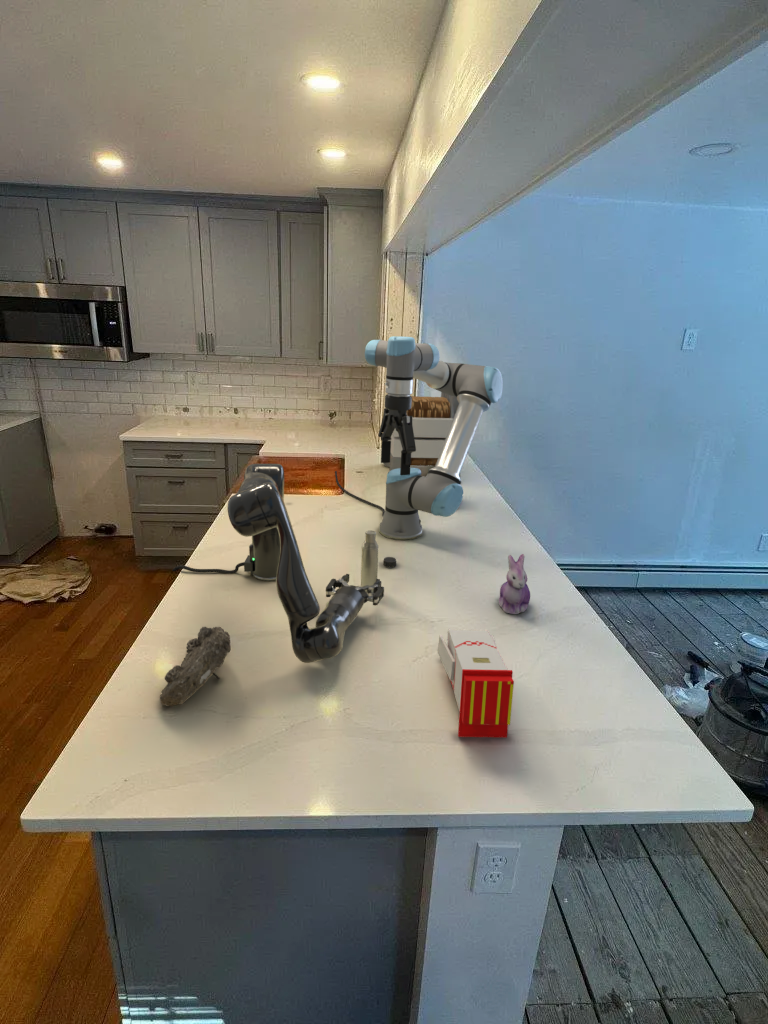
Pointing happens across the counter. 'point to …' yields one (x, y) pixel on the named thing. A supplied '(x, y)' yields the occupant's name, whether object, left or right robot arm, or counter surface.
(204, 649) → the fossil
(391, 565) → the cap
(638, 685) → the counter surface
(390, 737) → the counter surface
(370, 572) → the bottle
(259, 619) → the counter surface
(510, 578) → the figurine
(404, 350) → the right robot arm
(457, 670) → the toy
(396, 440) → the light grey slatted box
